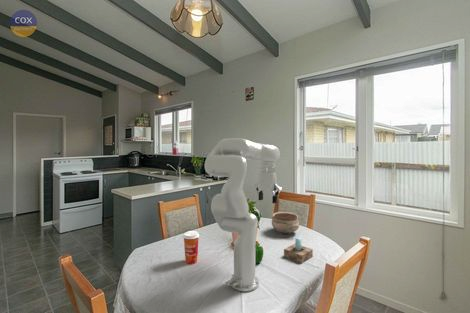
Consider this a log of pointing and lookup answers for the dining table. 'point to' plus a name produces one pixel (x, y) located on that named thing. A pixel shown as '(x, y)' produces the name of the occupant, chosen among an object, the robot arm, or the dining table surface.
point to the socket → (298, 253)
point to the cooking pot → (285, 222)
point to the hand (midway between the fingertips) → (267, 201)
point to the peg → (298, 244)
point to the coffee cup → (191, 246)
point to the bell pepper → (258, 253)
